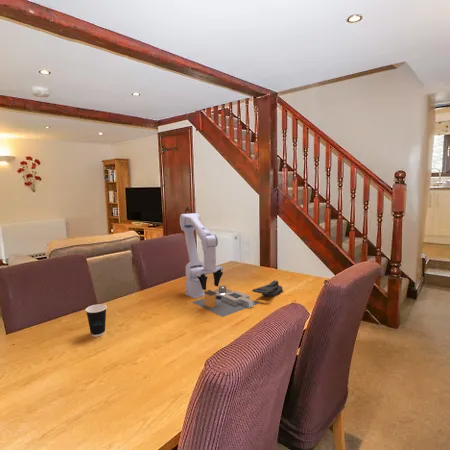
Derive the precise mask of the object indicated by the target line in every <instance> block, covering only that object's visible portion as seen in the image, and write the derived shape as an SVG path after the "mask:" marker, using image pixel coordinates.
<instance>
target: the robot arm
mask: <svg viewBox="0 0 450 450" xmlns="http://www.w3.org/2000/svg"><path fill="white" fill-rule="evenodd" d="M179 226H180V229H181V231H182V232H183V233H184V239H185V243H186V249H187V254H188V260H189V261H188V263H186V265H185V277H186V282H185V293H184V294H185V295H186V296H188V297H190V298H193V299H197V298H198V299H199V298H202V297H204V291H207V281H208V276H207V275H210V274H212V275H213V283H214V287H218V288H219V286H220V285H219V284H220V281H221V278H222V276H223V274H224V272H223V270H224V267H223V266H221V265H219V266H217V256H216V255H217V254H216V253H217V251H216V250H217V249H216V248H217V247H218V245H219V239H218V237H217V235H216V234H213V233H211V231H210V230H209V229H208V228H207V227H206V226H204V225H203V224H202V221H201V216H200V213H198V212H196V213H195V212H194V213H193V212H192V213H181V214H180V215H179ZM195 231H196V235H197V236H198V238H199V240H201V241H200V243H201V246H202V247H201V248H202V251H203V262H202V261H201V260H200V259H199V254H198V250H197V244H196V238H195Z"/></svg>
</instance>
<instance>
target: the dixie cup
mask: <svg viewBox="0 0 450 450" xmlns="http://www.w3.org/2000/svg"><path fill="white" fill-rule="evenodd" d="M107 308H108V307H107V305H106V304H99V303H98V304H93V305H89V306H88V307H86V308H85V309H84V310H85V312H86V317H87V322H88V327H89V332H90V335H91V337H93V336H94V338H98V336H99V337H102V336H104V335H105V331H106V321H107V319H106V315H107Z"/></svg>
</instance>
